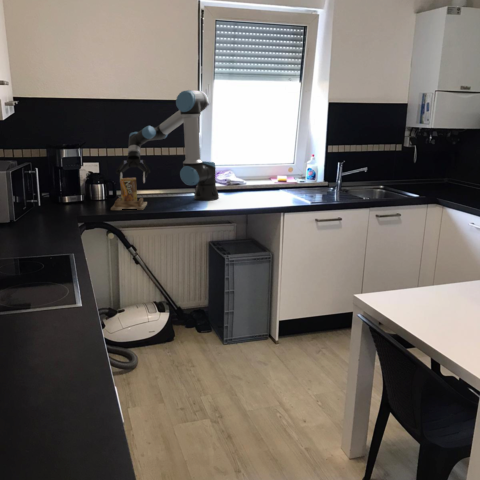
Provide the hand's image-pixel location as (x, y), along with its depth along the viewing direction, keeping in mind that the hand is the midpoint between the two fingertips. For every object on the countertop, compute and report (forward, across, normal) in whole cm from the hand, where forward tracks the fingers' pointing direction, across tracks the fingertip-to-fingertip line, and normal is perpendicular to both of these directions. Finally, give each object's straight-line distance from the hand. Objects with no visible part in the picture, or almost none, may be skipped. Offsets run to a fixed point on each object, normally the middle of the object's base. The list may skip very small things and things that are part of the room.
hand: (132, 182), depth 316 cm
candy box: (+17, +1, +1) cm, 17 cm away
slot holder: (+18, +1, +1) cm, 18 cm away
